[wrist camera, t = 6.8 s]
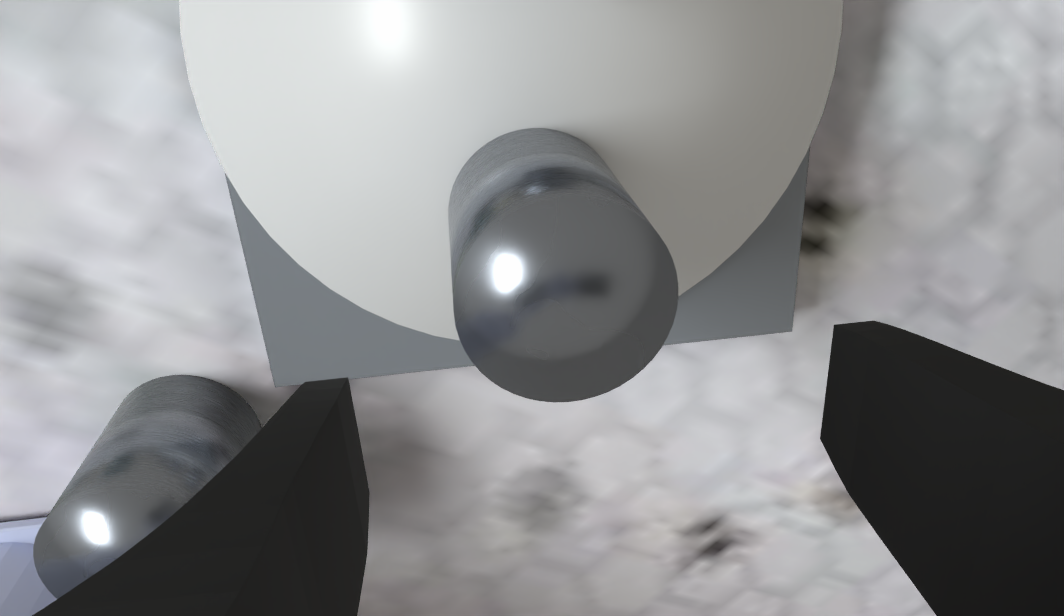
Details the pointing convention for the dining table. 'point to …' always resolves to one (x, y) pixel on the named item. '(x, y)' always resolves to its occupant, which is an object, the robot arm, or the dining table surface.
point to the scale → (482, 115)
